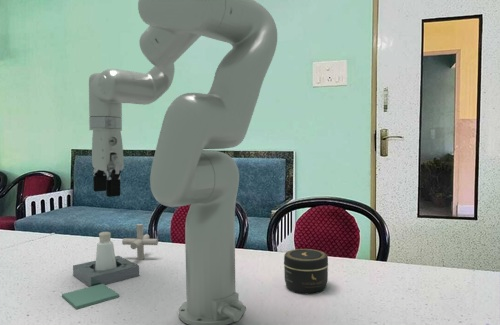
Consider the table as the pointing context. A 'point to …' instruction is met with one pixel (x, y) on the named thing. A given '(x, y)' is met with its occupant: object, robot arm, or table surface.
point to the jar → (306, 270)
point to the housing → (105, 272)
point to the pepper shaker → (105, 253)
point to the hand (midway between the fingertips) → (106, 193)
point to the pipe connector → (140, 242)
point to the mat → (90, 296)
